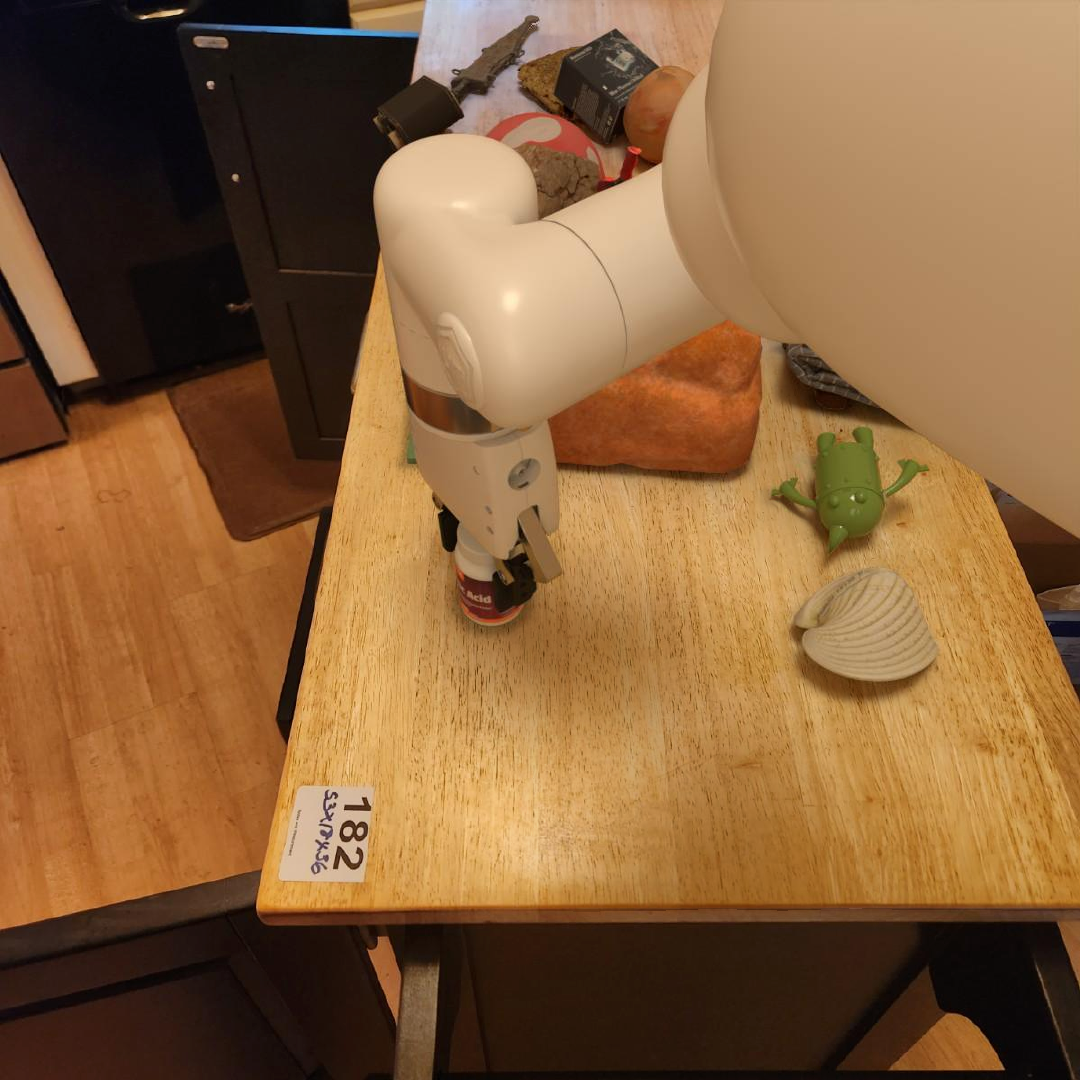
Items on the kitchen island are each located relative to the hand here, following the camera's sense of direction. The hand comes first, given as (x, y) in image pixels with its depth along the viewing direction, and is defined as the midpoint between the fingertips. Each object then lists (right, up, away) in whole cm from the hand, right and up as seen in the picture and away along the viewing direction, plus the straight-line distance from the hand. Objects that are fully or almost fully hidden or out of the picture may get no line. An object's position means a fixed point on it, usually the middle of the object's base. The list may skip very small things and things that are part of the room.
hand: (488, 568), depth 63 cm
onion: (+18, +46, +41) cm, 64 cm away
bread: (+9, +13, +15) cm, 21 cm away
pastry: (+9, +60, +52) cm, 79 cm away
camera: (-6, +51, +38) cm, 64 cm away
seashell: (+26, -6, 0) cm, 26 cm away
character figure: (+27, +4, +8) cm, 29 cm away
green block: (-6, +12, +15) cm, 20 cm away
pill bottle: (0, -3, +3) cm, 4 cm away
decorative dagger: (+3, +75, +62) cm, 98 cm away
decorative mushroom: (+3, +30, +28) cm, 41 cm away
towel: (+35, +23, +12) cm, 44 cm away
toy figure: (+11, +23, +4) cm, 26 cm away
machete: (+31, +23, +24) cm, 45 cm away
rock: (+1, +30, +14) cm, 33 cm away
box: (+15, +52, +42) cm, 68 cm away
